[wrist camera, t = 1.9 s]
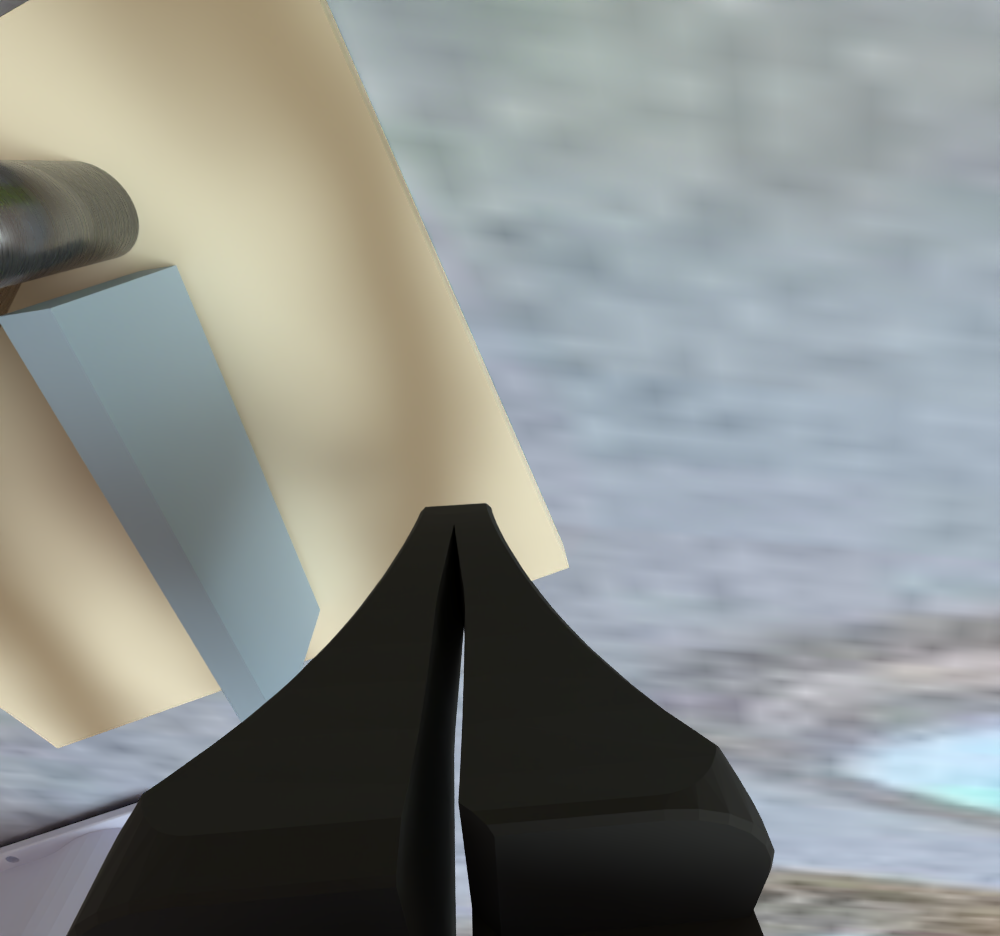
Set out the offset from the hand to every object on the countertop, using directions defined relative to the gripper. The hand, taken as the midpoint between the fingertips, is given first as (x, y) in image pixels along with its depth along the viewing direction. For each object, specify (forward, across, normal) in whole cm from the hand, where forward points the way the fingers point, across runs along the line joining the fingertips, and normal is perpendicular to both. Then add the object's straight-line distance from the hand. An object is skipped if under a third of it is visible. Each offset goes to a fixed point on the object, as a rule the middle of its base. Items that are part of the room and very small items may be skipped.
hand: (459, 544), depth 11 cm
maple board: (+5, +9, 0) cm, 10 cm away
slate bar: (+4, +5, 0) cm, 7 cm away
